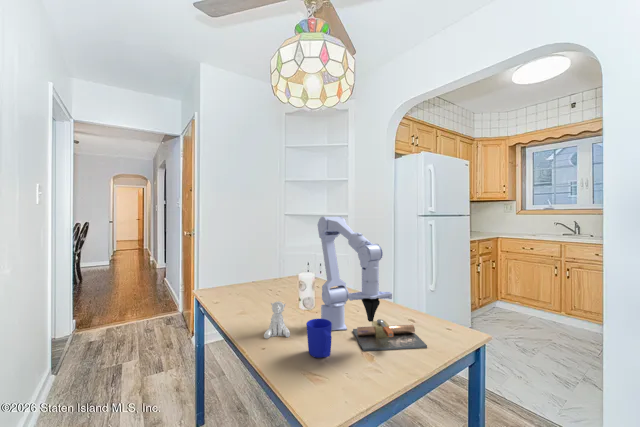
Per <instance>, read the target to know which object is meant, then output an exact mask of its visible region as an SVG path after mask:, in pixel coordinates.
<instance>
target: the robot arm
mask: <svg viewBox="0 0 640 427" xmlns="http://www.w3.org/2000/svg"><path fill="white" fill-rule="evenodd" d="M317 231H318V237H319V238H320V242H321V247H322V248H321V249H322V253H323V261H324V266H325V268H324V269H325V275H326V281H325V282H324V283H323V285H322V286H321V300H322V302H323V304H321V306H320V319H326V320H329V321H330V322H331V323H332V328H331V331H343V330H344V331H346V330H348V327H347V325H346V324H345V323H346V322H345V305H346V304H347V301H353V300H354V301H355V300H357V301H358V300H359V301H360V300H361V302H362V304H363V306H364V309H365V314H366V315H367V316H366V317H367V320H368V322H371V323H372V322H373V321H374V319H375V316H376V315H375V314H376V312H377V310H378V307H379V305H380V303H381V302H380V300H385V299H387V300H393V293H392V292H391V291H380V261H381V260H382V258H383V256H384V255H383V248H382V247H381V246H380V245H379V244H378V243H372V242H371V241H370V240H368V238H366V236H364V235H363V233H362V232H354V230H353V229H352V228H351V227H350V226H349V225H348V224H347V221H346V219H345V218H344V217H343V216H321V217H320V218H319V220H318V222H317ZM340 235H342V237H345V238H346V239H347V240H348V241H347V243H348V245H349V246H350V247H351V248H352V249H353V251H355V252H356V253H357V257H358V260H359V265H360V267H361V291H358V292H357V291H356V292H349V290H348V287H347V283H346V282H345V280H344V281H343V280H342V279H341V276H340V270H339V265H338V258H337V252H336V246H335V239H337V238H338V237H339V236H340Z"/></svg>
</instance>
